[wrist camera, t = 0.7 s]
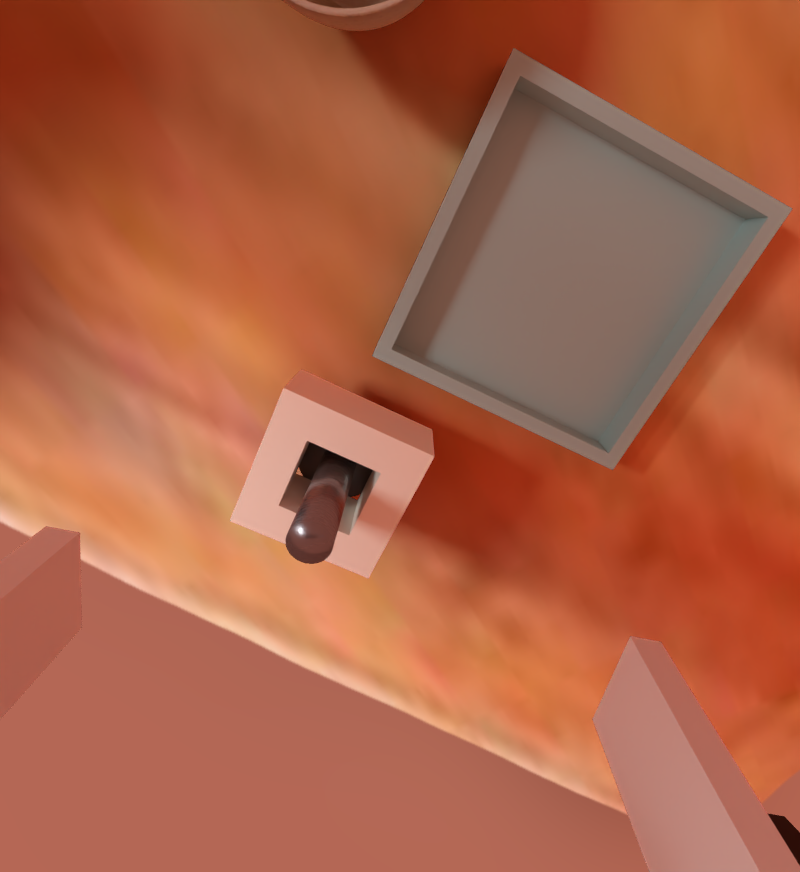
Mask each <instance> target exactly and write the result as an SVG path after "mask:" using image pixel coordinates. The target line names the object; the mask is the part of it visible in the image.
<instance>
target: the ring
mask: <svg viewBox="0 0 800 872" xmlns="http://www.w3.org/2000/svg"><path fill="white" fill-rule="evenodd" d="M309 442H311V443H313V444H316V445H318V446H320V447H322V448H325V449H327V450H329V451H331V452H334V453H336V454H338V455H340V456H343V457H345V458H347V459H349V460H352V461H354V462H356V463H359V464H361V465H363V466H365V467H368V468H370V469H372V470H373V471H372V473H371V475H370V477H369V479H368V481H367V483H366V485H365V487H364V489H363V491H362V493H361V495H360V497H359V499H358V500H356V499H353V498H351V497H349V496H347V500H346V503H345V507H344V511H343V514H342V518H341V521H340V525H339V528H338V532H337V535H336V539H335V543H334V546H333V550H332V552H331V554H330V555H329V557H328V558H326V559H325V561H327V562H330V563H332V564H335V565H337V566H339V567H342V568H344V569H347V570H349V571H352V572H354V573H356V574H359V575H361V576H364V577H366V578H369V576H370V575H371V573H372V571H373V569H374V567H375V565H376V563H377V562H378V560H379V558H380V556H381V554H382V552H383V551H384V549H385V547H386V545H387V543H388V541H389V540H390V538H391V536H392V534H393V532H394V530H395V529H396V527H397V525H398V523H399V521H400V519H401V517H402V516H403V514H404V512H405V510H406V508H407V506H408V505H409V503H410V501H411V499H412V497H413V495H414V494H415V492H416V490H417V488H418V486H419V484H420V482H421V481H422V479H423V477H424V475H425V473H426V471H427V470H428V468H429V466H430V464H431V462H432V460H433V459H434V457H435V456H434V444H433V432H432V429H430V428H428V427H426V426H424V425H422V424H419V423H417V422H415V421H413V420H411V419H409V418H406V417H404V416H402V415H400V414H398V413H396V412H393V411H391V410H389V409H387V408H385V407H383V406H380V405H378V404H376V403H374V402H372V401H370V400H367V399H365V398H363V397H361V396H359V395H357V394H354V393H352V392H350V391H348V390H346V389H344V388H341V387H339V386H337V385H335V384H333V383H331V382H329V381H326V380H324V379H322V378H320V377H318V376H316V375H313V374H311V373H309V372H307V371H305V370H303V369H301V370H300V371H299V372H298V373H297V374H296V375H295V376H294V377H293V378H292V380H291V381H290V382H289V383H288V384H287V385H286V386H285V387H284V388H283V390H282V393H281V395H280V398H279V400H278V403H277V405H276V408H275V410H274V413H273V415H272V418H271V420H270V423H269V425H268V427H267V430H266V432H265V435H264V437H263V440H262V442H261V445H260V447H259V450H258V452H257V455H256V457H255V460H254V462H253V465H252V467H251V469H250V472H249V474H248V477H247V479H246V482H245V484H244V487H243V489H242V492H241V494H240V497H239V499H238V502H237V504H236V506H235V509H234V511H233V514H232V516H231V519H230V521H231V522H233V523H236V524H238V525H241V526H243V527H245V528H248V529H250V530H253V531H255V532H258V533H260V534H262V535H265V536H267V537H270V538H272V539H274V540H277V541H279V542H282V543H284V544H286V535H287V533H288V531H289V529H290V526H291V524H292V522H293V520H294V518H295V515H296V513H297V511H298V509H299V507H300V504H301V502H302V500H303V498H304V496H305V493H306V491H307V489H308V487H309V485H310V482H311V480H310V479H307V478H305V477H303V476H301V475H298V474H296V472H297V470H298V467H299V465H300V463H301V461H302V458H303V456H304V454H305V451H306V449H307V447H308V445H309Z"/></svg>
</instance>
